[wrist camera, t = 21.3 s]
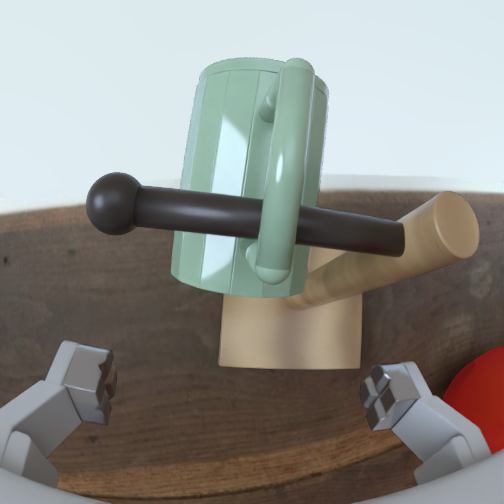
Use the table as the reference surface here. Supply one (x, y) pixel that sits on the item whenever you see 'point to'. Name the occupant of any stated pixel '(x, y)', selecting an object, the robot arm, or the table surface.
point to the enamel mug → (254, 172)
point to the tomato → (481, 396)
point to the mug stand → (320, 266)
